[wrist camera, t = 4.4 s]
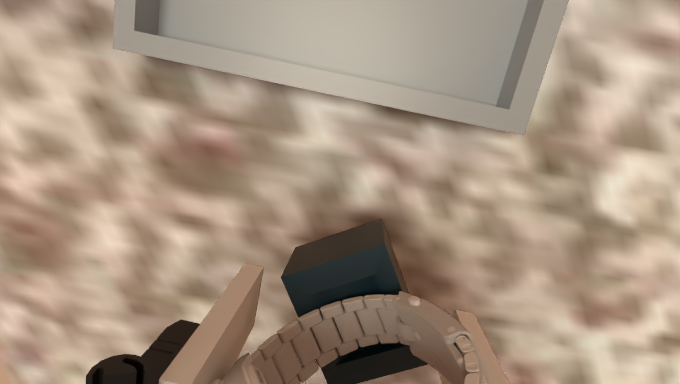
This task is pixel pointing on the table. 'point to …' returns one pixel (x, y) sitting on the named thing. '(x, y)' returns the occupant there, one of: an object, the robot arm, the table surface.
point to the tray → (365, 49)
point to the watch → (357, 320)
